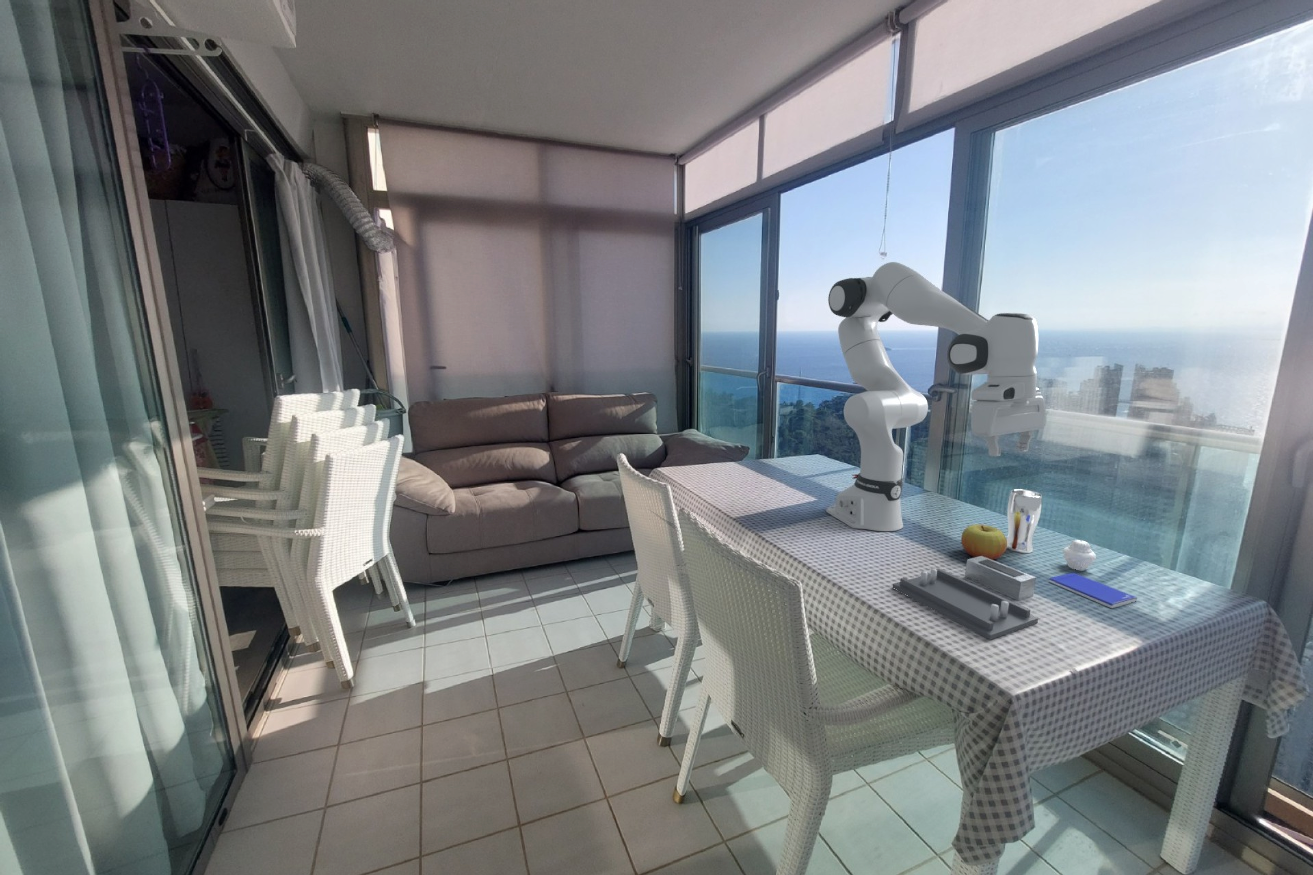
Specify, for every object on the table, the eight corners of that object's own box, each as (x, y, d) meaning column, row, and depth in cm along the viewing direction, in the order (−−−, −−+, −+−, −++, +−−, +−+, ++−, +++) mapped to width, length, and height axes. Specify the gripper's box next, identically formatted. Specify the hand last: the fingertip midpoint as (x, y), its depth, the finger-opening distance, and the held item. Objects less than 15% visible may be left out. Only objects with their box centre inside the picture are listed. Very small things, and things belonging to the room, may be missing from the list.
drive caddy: (964, 577, 122) (967, 558, 121) (979, 573, 124) (981, 555, 123) (1018, 601, 111) (1021, 581, 110) (1033, 596, 113) (1036, 576, 112)
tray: (892, 587, 117) (894, 571, 116) (936, 575, 122) (938, 559, 122) (990, 640, 97) (992, 620, 96) (1037, 622, 103) (1040, 603, 102)
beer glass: (999, 548, 137) (1007, 493, 134) (1005, 540, 142) (1012, 487, 139) (1032, 556, 133) (1040, 498, 130) (1037, 548, 138) (1045, 492, 135)
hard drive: (1137, 596, 111) (1074, 571, 122) (1112, 603, 108) (1049, 577, 119) (1136, 603, 111) (1073, 578, 122) (1111, 610, 108) (1048, 584, 120)
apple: (950, 551, 136) (953, 522, 134) (976, 545, 140) (979, 516, 138) (987, 567, 127) (991, 535, 125) (1013, 560, 131) (1018, 529, 129)
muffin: (1059, 568, 126) (1063, 540, 125) (1061, 560, 131) (1066, 533, 129) (1093, 576, 122) (1098, 547, 121) (1094, 567, 127) (1099, 539, 125)
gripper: (1025, 386, 121) (1023, 446, 123) (965, 392, 112) (964, 456, 114) (1056, 387, 115) (1053, 450, 117) (995, 392, 107) (993, 460, 109)
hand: (1008, 453), depth 116 cm, fingers open, 8 cm apart
